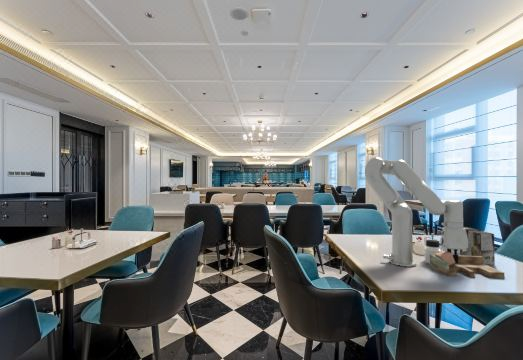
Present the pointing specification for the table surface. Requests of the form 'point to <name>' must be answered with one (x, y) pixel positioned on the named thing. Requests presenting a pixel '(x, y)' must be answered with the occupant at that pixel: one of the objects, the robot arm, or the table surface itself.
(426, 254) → the medicine bottle
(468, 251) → the coffee box
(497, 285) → the table surface
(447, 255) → the block
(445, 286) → the table surface
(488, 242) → the coffee box
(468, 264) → the trap box
